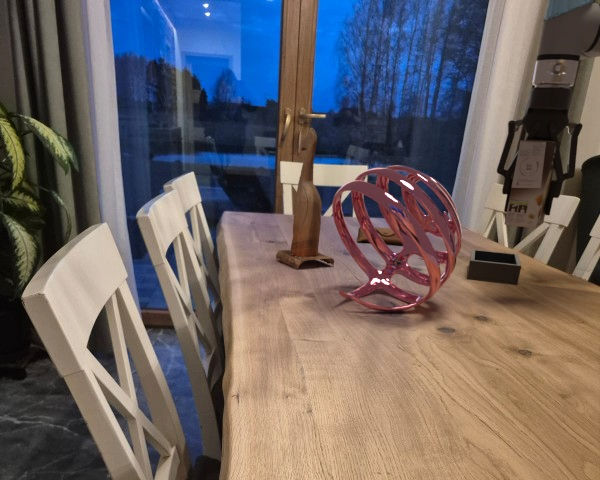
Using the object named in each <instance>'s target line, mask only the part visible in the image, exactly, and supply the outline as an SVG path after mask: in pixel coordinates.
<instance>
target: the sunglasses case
mask: <svg viewBox="0 0 600 480" xmlns="http://www.w3.org/2000/svg"><path fill="white" fill-rule="evenodd" d="M374 228H375V229H376V231H377V232H378V234H379V235H380V237H381V238H382V240H383V241H384V242H385V243H386V245H389V246H403V243H402V242H401V241H400V239H399V238H398V237H397V236H396V235H395V233H394V232H393V231H392V229H391V228H390V227H377V226H374ZM356 241H357V242H358V243H370V242H369V240H368V239H367V237H366V236H365V234H364V232H363V230H362V229H361V227H359V228H358V231H357V237H356Z"/></svg>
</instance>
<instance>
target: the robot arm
mask: <svg viewBox="0 0 600 480" xmlns="http://www.w3.org/2000/svg"><path fill="white" fill-rule="evenodd" d="M545 8H546V9H545V12H544V17H543V19H542V29H541V34H540V38H539V39H540V40H539V45H538V51H537V55H536V60H535V65H534V69H533V75H532V80H531V84H532V86H534V87H532V88H531V89H530V91H529V97H528V102H527V107H526V111H525V114H524V116H523V117H522V118H521V119H515V120H512V119H511V120H509V121H508V122H507V136H506V139H505V142H504V145H503V148H502V152H501V154H500V159H499V161H498V163H497V168H496V173H497V174H498V175H501V176H503V178H504V179H503V182H502V183H503V184H502V189H501V192H502V195H506V199H505V204H504V209H503V212H504V213H507V208H508V203H509V197H510V192H511V187H512V182H513V175H514V171H515V166H516V161H517V156H518V151H519V149H518V150H517V152H516V154H515V156H513V157H514V158H513V159H512V161H511V163H510V164H509V166H508V168H507V169H506V168H505V166H506V163H507V160H508V157H509V154H510V151H511V148H512V144H513V141H514V138H515V134H516V133H517V132H519V130H520V127H521V126H522V127H523V129H524V131H525V133H526V136H525V138H524V140H543V141H555V142H557V144H556V145H557V146H556V152H555V157H554V168H555V172H554V175H555V179H553V180H552V181H551V185H550V190H549V195H548V199H547V204H546V208H545V216H550V215H551V210H552V205H553V201H554V199H559V198H560V197H561V191H562V187H563V183H564V182H565V180H569V179H573V178H575V174H576V164H577V153H578V142H579V135H580V134H581V132H582V129H583V123H581V122H575V121H571V120H570V119H569V109H570V106H571V102H572V101H571V100H572V96H573V90H572V89H571V87H573V86H574V85H575V81H576V77H577V73H578V67H579V62H580V61H582V60H587V59H592V58H599V57H600V3H596V2H594V0H547V4H546V7H545ZM566 128H567V133H568V134H569V138H568V139H569V141H568V152H567V163H566V171H565V172H564V169H563V162H562V157H561V151H560V149H559V142H558V141H559V137H558V136H559V135H560V134H561V133H562V132H563V131H564V130H565V129H566Z"/></svg>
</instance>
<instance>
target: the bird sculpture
mask: <svg viewBox="0 0 600 480" xmlns="http://www.w3.org/2000/svg"><path fill="white" fill-rule="evenodd" d="M317 144H318V136H317V132H316V130H315V129H314V128H313V127H310V128H309V129H308V131H307V134H306V136H305V137H304V138H303V140H302V141H301V146H300V151H303V152H304V151H306V153H305V156H304V157H303V162H302V165H301V170H300V175H299V179H298V183H297V189H296V193H295V194H296V195H295V200H294V212H293V221H292V222H293V223H292V240H291V244H290V249H283V250H282V249H281V250H278V251H277V253H276V254H275V259H276V260H278V261H280V262H282V263H284V264H287V265H289V266H291V267H293V268H294V269H296V270H298V269H299V267H300V266H301V265H302V264H303V263H304V262H305V261H315V260H319V261H321V262H324V263H326V264H329V265H331V266H333V267H335V259H334V258H332V257H330V256H327V255H326V254H323V253H321V252H319V246H320V244H319V243H320V236H321V234H320V233H321V224H322V211H323V210H322V209H323V208H322V207H323V203H322V199H321V195H320V193H319V191H318V188H317V187H316V185H315V184H314V166H315V165H314V163H315V156H316V155H315V154H316V151H317V150H316V147H317Z"/></svg>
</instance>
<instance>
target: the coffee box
mask: <svg viewBox="0 0 600 480" xmlns="http://www.w3.org/2000/svg"><path fill="white" fill-rule="evenodd" d="M558 142H559V150H560V149H561V144H562V141H559V140H558ZM556 144H557V142H555V141H543V140H525V139H520V140H519V145H518V150H519V151H518V150H517V152H518V156H517V161H516V166H515V171H514V172H513V176H512V178H513V182H512V187H511V192H510V197H509V203H508V208H507V212H505V218H504V225H505V226H513V227H522V228H530V229H536V228H537V227H539V226H541V225H542V224H544V222H545V218H546V215H545V208H546V204H547V199H548V195H549V190H550V185H551V181H552V180H554V176H555V168H554V157H555V152H556V146H557V145H556Z"/></svg>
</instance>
